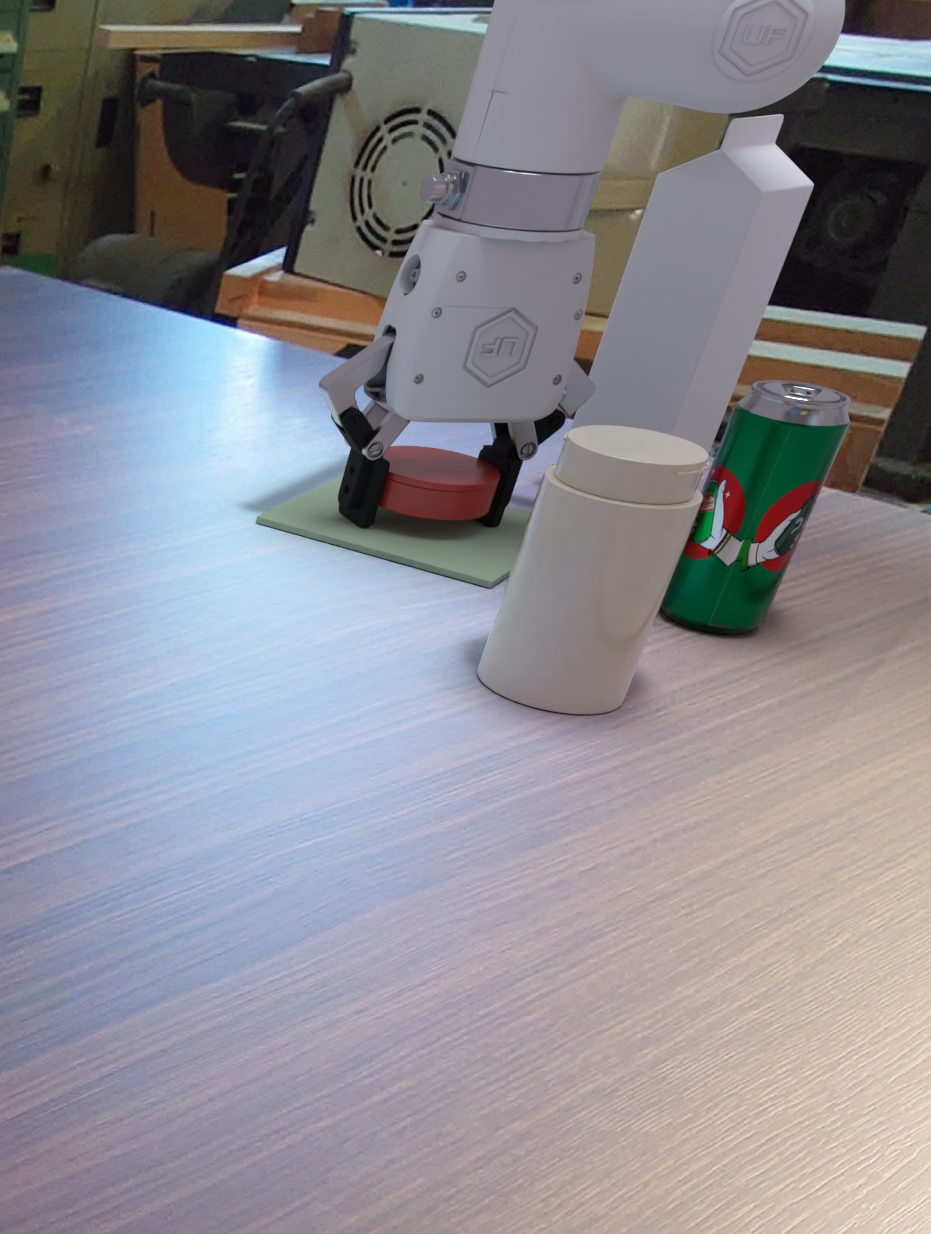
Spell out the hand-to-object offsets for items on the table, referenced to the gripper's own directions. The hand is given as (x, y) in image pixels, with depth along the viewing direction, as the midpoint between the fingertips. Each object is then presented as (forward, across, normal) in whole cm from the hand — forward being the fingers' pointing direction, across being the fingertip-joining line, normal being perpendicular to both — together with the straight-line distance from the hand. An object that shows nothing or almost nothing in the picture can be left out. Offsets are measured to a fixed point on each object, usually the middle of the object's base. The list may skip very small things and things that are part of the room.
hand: (417, 517), depth 101 cm
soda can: (+1, +9, -14) cm, 17 cm away
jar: (+1, -5, -22) cm, 23 cm away
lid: (-3, 0, 0) cm, 3 cm away
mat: (+1, 0, 0) cm, 1 cm away
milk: (+1, +15, +4) cm, 16 cm away
